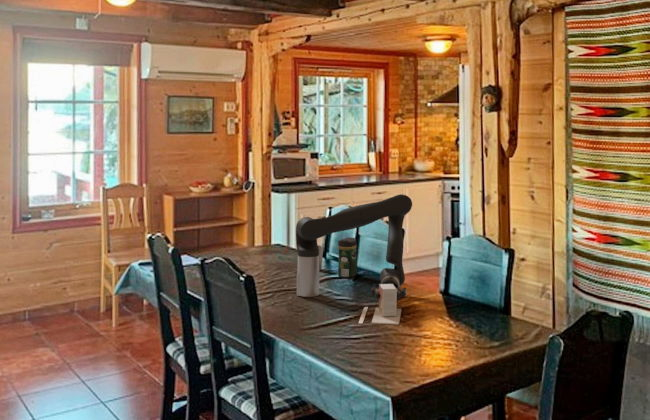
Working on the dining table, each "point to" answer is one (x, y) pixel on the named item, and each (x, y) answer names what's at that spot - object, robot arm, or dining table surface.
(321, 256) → the cup
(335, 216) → the robot arm
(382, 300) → the small box
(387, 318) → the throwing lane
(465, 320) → the dining table surface
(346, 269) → the coffee jar
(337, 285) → the dining table surface
